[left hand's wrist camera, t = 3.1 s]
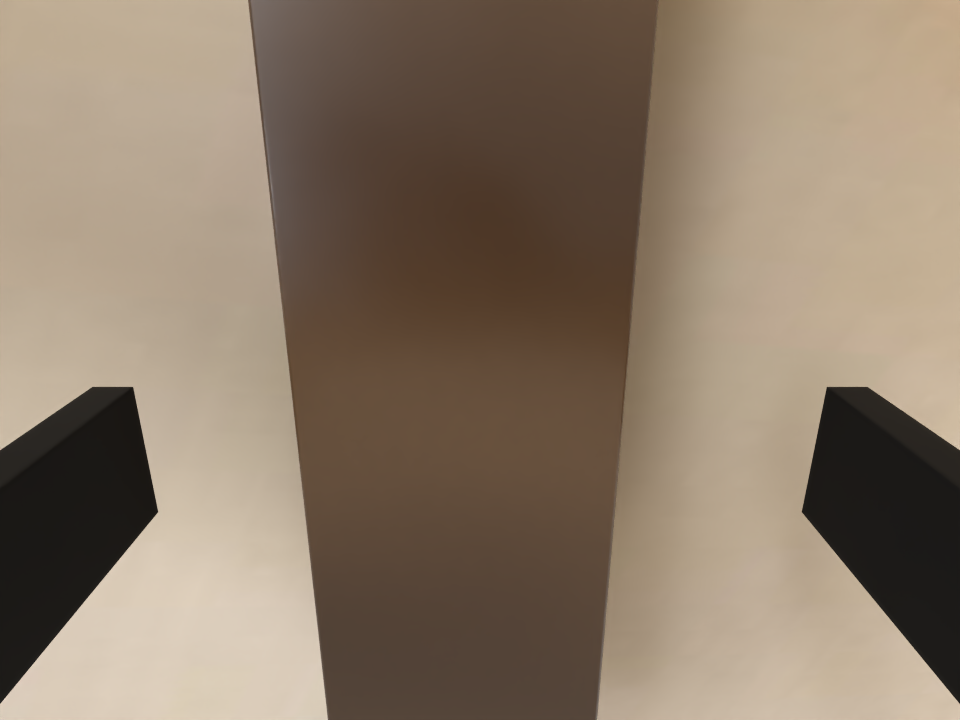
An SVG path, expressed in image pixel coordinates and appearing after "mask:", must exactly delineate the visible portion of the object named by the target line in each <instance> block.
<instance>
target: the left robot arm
mask: <svg viewBox="0 0 960 720" xmlns="http://www.w3.org/2000/svg"><path fill="white" fill-rule="evenodd" d="M157 513H158V509H157V504H156V499H155V494H154V489H153V484H152V479H151V474H150V469H149V464H148V459H147V454H146V449H145V444H144V439H143V434H142V429H141V424H140V419H139V414H138V409H137V404H136V399H135V394H134V389H133V387H92V388H90V389H89V390H88V391H86V392H85V393H83V394H82V395H80V396H79V397H77V398H76V399H74V400H73V401H72V402H70V403H69V404H67V405H66V406H64V407H63V408H61V409H60V410H58V411H57V412H55V413H54V414H53V415H51V416H50V417H48V418H47V419H45V420H44V421H42V422H41V423H39V424H38V425H37V426H35V427H34V428H32V429H31V430H29V431H28V432H26V433H25V434H23V435H22V436H21V437H19V438H18V439H16V440H15V441H13V442H12V443H10V444H9V445H7V446H6V447H4V448H3V449H2V450H0V703H1V702H2V701H3V700H4V698H5V697H6V696H7V695H8V694H9V692H10V691H11V690H12V689H13V688H14V686H15V685H16V684H17V683H18V681H19V680H20V679H21V678H22V677H23V675H24V674H25V673H26V672H27V671H28V669H29V668H30V667H31V666H32V664H33V663H34V662H35V661H36V660H37V658H38V657H39V656H40V655H41V654H42V652H43V651H44V650H45V649H46V647H47V646H48V645H49V644H50V643H51V641H52V640H53V639H54V638H55V637H56V635H57V634H58V633H59V632H60V630H61V629H62V628H63V627H64V626H65V624H66V623H67V622H68V621H69V620H70V618H71V617H72V616H73V615H74V613H75V612H76V611H77V610H78V609H79V607H80V606H81V605H82V604H83V603H84V601H85V600H86V599H87V598H88V596H89V595H90V594H91V593H92V592H93V590H94V589H95V588H96V587H97V586H98V584H99V583H100V582H101V581H102V579H103V578H104V577H105V576H106V575H107V573H108V572H109V571H110V570H111V569H112V567H113V566H114V565H115V564H116V562H117V561H118V560H119V559H120V558H121V556H122V555H123V554H124V553H125V552H126V550H127V549H128V548H129V547H130V546H131V544H132V543H133V542H134V541H135V539H136V538H137V537H138V536H139V535H140V533H141V532H142V531H143V530H144V529H145V527H146V526H147V525H148V524H149V522H150V521H151V520H152V519H153V518H154V516H155V515H156V514H157ZM802 513H803V514H804V515H805V516H806V518H807V519H808V520H809V521H810V522H811V524H812V525H813V526H814V527H815V529H816V530H817V531H818V532H819V533H820V535H821V536H822V537H823V538H824V539H825V541H826V542H827V543H828V544H829V546H830V547H831V548H832V549H833V550H834V552H835V553H836V554H837V555H838V556H839V558H840V559H841V560H842V561H843V562H844V564H845V565H846V566H847V567H848V569H849V570H850V571H851V572H852V573H853V575H854V576H855V577H856V578H857V579H858V581H859V582H860V583H861V584H862V586H863V587H864V588H865V589H866V590H867V592H868V593H869V594H870V595H871V596H872V598H873V599H874V600H875V601H876V603H877V604H878V605H879V606H880V607H881V609H882V610H883V611H884V612H885V613H886V615H887V616H888V617H889V618H890V620H891V621H892V622H893V623H894V624H895V626H896V627H897V628H898V629H899V630H900V632H901V633H902V634H903V635H904V637H905V638H906V639H907V640H908V641H909V643H910V644H911V645H912V646H913V647H914V649H915V650H916V651H917V652H918V654H919V655H920V656H921V657H922V658H923V660H924V661H925V662H926V663H927V664H928V666H929V667H930V668H931V669H932V671H933V672H934V673H935V674H936V675H937V677H938V678H939V679H940V680H941V681H942V683H943V684H944V685H945V686H946V688H947V689H948V690H949V691H950V692H951V694H952V695H953V696H954V697H955V698H956V700H957V701H958V702H959V703H960V450H958V449H957V448H956V447H954V446H953V445H951V444H950V443H948V442H947V441H945V440H944V439H942V438H941V437H939V436H938V435H937V434H935V433H934V432H932V431H931V430H929V429H928V428H926V427H925V426H923V425H922V424H921V423H919V422H918V421H916V420H915V419H913V418H912V417H910V416H909V415H907V414H906V413H905V412H903V411H902V410H900V409H899V408H897V407H896V406H894V405H893V404H891V403H890V402H888V401H887V400H886V399H884V398H883V397H881V396H880V395H878V394H877V393H875V392H874V391H872V390H871V389H870V388H868V387H827V389H826V394H825V399H824V404H823V409H822V414H821V419H820V424H819V429H818V434H817V439H816V444H815V449H814V454H813V459H812V464H811V469H810V474H809V479H808V484H807V489H806V494H805V499H804V504H803V509H802Z"/></svg>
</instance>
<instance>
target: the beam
mask: <svg viewBox="0 0 960 720" xmlns="http://www.w3.org/2000/svg"><path fill="white" fill-rule="evenodd" d="M658 2H659V0H248V3H249V12H250V21H251V30H252V39H253V48H254V57H255V66H256V75H257V84H258V93H259V102H260V111H261V120H262V129H263V138H264V147H265V156H266V165H267V174H268V183H269V192H270V201H271V210H272V219H273V228H274V237H275V246H276V255H277V264H278V273H279V282H280V291H281V300H282V309H283V318H284V327H285V336H286V345H287V354H288V363H289V372H290V381H291V390H292V399H293V408H294V417H295V426H296V435H297V444H298V453H299V462H300V472H301V481H302V490H303V499H304V508H305V517H306V526H307V535H308V544H309V553H310V562H311V571H312V580H313V589H314V598H315V607H316V616H317V625H318V634H319V643H320V652H321V661H322V670H323V679H324V688H325V697H326V706H327V715H328V720H597V714H598V702H599V690H600V679H601V667H602V655H603V644H604V632H605V620H606V609H607V597H608V585H609V574H610V562H611V550H612V539H613V527H614V515H615V504H616V492H617V480H618V469H619V457H620V445H621V434H622V422H623V410H624V398H625V387H626V375H627V363H628V352H629V340H630V328H631V317H632V305H633V293H634V282H635V270H636V258H637V247H638V235H639V223H640V212H641V200H642V188H643V177H644V165H645V153H646V142H647V130H648V118H649V107H650V95H651V83H652V72H653V60H654V48H655V37H656V25H657V13H658Z"/></svg>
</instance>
